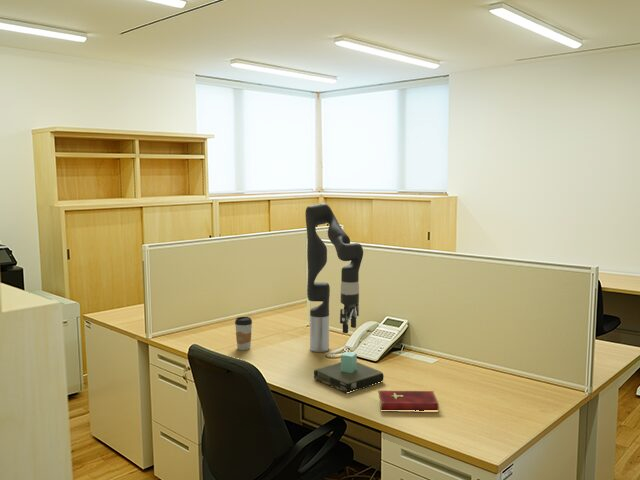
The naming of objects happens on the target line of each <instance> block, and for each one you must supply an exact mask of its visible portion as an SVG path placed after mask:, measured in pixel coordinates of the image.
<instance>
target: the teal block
mask: <svg viewBox="0 0 640 480" xmlns="http://www.w3.org/2000/svg"><path fill="white" fill-rule="evenodd" d="M357 356H358V355H357V352H350V351H344V352H343V353H342V354H340V362H341V371H342V372H348V373H353V372H354V371H355V370H356V369H357V362H358V360H357Z"/></svg>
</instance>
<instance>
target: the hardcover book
mask: <svg viewBox="0 0 640 480" xmlns="http://www.w3.org/2000/svg"><path fill="white" fill-rule="evenodd" d="M377 392H378V400H379V399H380V402H379V405H380V404H381V406H380V411H381V410H415V411H416V410H419V411H424V410H440V404H439V401H438V399H437V396H436V394H435V393H434V391H433V390H386V389H385V390H379V389H378V390H377Z"/></svg>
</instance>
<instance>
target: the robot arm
mask: <svg viewBox="0 0 640 480" xmlns="http://www.w3.org/2000/svg"><path fill="white" fill-rule="evenodd" d="M304 216H305V225H306V226H305V227H306V235H307V236H306V237H307V238H306V241H307V245H306V246H307V248H306V251H307V252H306V255H307V256H306V259H307V261H306V262H307V285H306V288H307V290H306V295H307V299H308V301H309V302H322V303H321V304H319V305H317V306H315V307H312V308H310V311H309V315H310V316H309V321H310V322H309V329H310V330H309V349H310V351H311V352H316V353H324V352H325V353H326V352H328V351H329V350H330V295H331V294H330V293H331V290H330V289H331V287H330V284H329V283H328V282H324V281H323V282H322V281H321V282H315V280H316V279H317V277H318V275H319V274H320V272H321V271H322V270H323V269H324V268H325V266H326V265H327V262H328V249H327V246H326V244H325V243H324V241H323V239H321V238H320V236H319V235H318V233H317V230H316V227H317V226H321V225H324V224H328V230H327V237H328V240H329V241H330V242H331V243H332V245H333V246H334V248H335V251H336V255H337V257H338V259H339V261H342V262H349V264H348V265H345V266H343V267H341V271H340V272H341V279H340V281H341V282H340V303H341V304H342V305H343V308H340V313H339V323H340V324H342V334H348V333H349V322H350V328H351V329H352V328H353V329H356V328H357V319H358V317H359V316H360V313H359V312H360V308H359V307H360V305H359V303H360V283H359V282H360V281H359V280H360V279H359V275H360V274H359V271H360V267H361V264H362V261H363V257H364V248H363V246H362V244H360V243H357V242H354V243H352V242H351V239H350V236H349V235H348V234H347V233H346V232H345V231H344V229H343V228H342V227H341V225H340V223H339V222H338V219H337V217H336V215H335V214H334V211H333V210H332V208H331V207H330V206H329V204H328V203H325V202H324V203H323V202H322V203H318V204H313V205H311V204H310V205H308V206H307V207H306V208H305V215H304Z"/></svg>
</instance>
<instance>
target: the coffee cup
mask: <svg viewBox="0 0 640 480" xmlns="http://www.w3.org/2000/svg"><path fill="white" fill-rule="evenodd" d="M234 325H235V337H236V346H237V350H238V351H239V350H240V351H248V350H250V348H251V346H252V345H251V344H252V343H251V342H252V325H253V320H252V318H251V317H249V316H239V317H236V318H235V321H234Z"/></svg>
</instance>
